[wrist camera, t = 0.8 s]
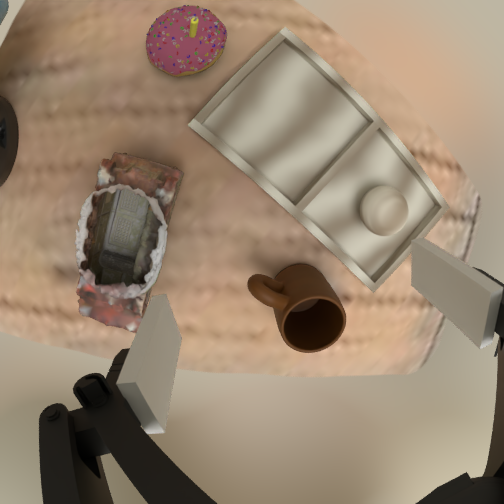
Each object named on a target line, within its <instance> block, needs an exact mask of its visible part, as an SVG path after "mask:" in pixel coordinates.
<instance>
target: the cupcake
mask: <svg viewBox="0 0 504 504" xmlns="http://www.w3.org/2000/svg"><path fill="white" fill-rule="evenodd" d="M226 39H227V32H226V28H225V26H224V24H223V23H222V22H221V21H220V20H219V19H218V18H217V17H216V16H215V15H214V14H212V13H211V12H210V10H207V9H203V8H200V7H199V6H189V5H187V6H186V5H184V6H183V7H178V8H173V9H171V10H167V11H166V12H165V13H164V14H163V15H161V16H160V17H159V18H158V19H157V18H156V21H155V22H154V23H153V24H152V25H151V28H150V29H149V32H148V34H147V40H146V49H147V55H148V58H149V61H150V62H151V64H152V65H154V66H155V67H157V68H158V69H160V70H162V71H164V72H166V73H168V74H170V75H172V76H175V77H178V76H184V75H190V74H194V73H198V72H201V71H203V70H205V69H207V68H209V67H210V66H212V65H213V64H214V63H215V62H216V60H217V59H218V58H219V57H220V56H221V54H222V52H223V49H224V46H225V41H226Z"/></svg>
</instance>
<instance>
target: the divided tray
mask: <svg viewBox="0 0 504 504" xmlns="http://www.w3.org/2000/svg"><path fill="white" fill-rule="evenodd" d="M188 126H189V127H191V128H192V129H193V130H194V131H195V132H197V133H198V134H199V135H200V136H202V137H203V138H204V139H205V140H206V141H208V142H209V143H210V144H211V145H212V146H214V147H215V148H216V149H217V150H218V151H219V152H221V153H222V154H223V155H224V156H225V157H227V158H228V159H229V160H230V161H231V162H232V163H234V164H235V165H236V166H237V167H238V168H239V169H241V170H242V171H243V172H244V173H245V174H246V175H247V176H249V177H250V178H251V179H252V180H253V181H254V182H255V183H257V184H258V185H259V186H260V187H261V188H262V189H263V190H265V191H266V192H267V193H268V194H269V195H270V196H271V197H272V198H274V199H275V200H276V201H277V202H278V203H279V204H280V205H281V206H282V207H284V208H285V209H286V210H287V211H288V212H289V213H290V214H291V215H292V216H293V217H295V218H296V219H297V220H298V221H299V222H300V223H301V224H302V225H303V226H304V227H305V228H306V229H308V230H309V231H310V232H311V233H312V234H313V235H314V236H315V237H316V238H317V239H318V240H319V241H320V242H322V243H323V244H324V245H325V246H326V247H327V248H328V249H329V250H330V251H331V252H332V253H333V254H334V255H335V256H336V257H337V258H338V259H339V260H340V261H341V262H343V263H344V264H345V265H346V266H347V267H348V268H349V269H350V270H351V271H352V272H353V273H354V274H355V275H356V276H357V277H358V278H359V279H360V280H361V281H362V282H363V283H364V284H365V285H366V286H367V287H368V288H369V289H370V290H371V291H372V292H373V293H374V292H375V291H376V290H377V289H378V288H379V287H380V286H381V285H382V284H383V283H384V282H385V281H386V280H387V278H388V277H389V276H390V275H391V274H392V273H393V272H394V271H395V270H396V269H397V268H398V267H399V266H400V265H401V263H402V262H403V261H404V260H405V259H406V258H407V257H408V256H409V255H410V253H411V252H412V245H411V240H414V239H418V238H422V237H423V238H424V237H425V236H426V235H427V234H428V233H429V232H430V230H431V229H432V228H433V227H434V226H435V224H436V223H437V222H438V221H439V220H440V218H441V217H442V216H443V215H444V214H445V212H446V211H447V210H448V209H449V205H448V204H447V202H446V201H445V199H444V198H443V197H442V195H441V194H440V192H439V191H438V189H437V188H436V186H435V185H434V184H433V182H432V181H431V180H430V178H429V177H428V175H427V174H426V173H425V171H424V170H423V169H422V167H421V166H420V165H419V163H418V162H417V161H416V160H415V158H414V157H413V156H412V154H411V153H410V152H409V151H408V149H407V148H406V147H405V146H404V144H403V143H402V142H401V141H400V140H399V138H398V137H397V136H396V135H395V134H394V132H393V131H392V130H391V129H390V128H389V127H388V125H387V124H386V123H385V122H384V121H383V120H382V119H381V117H380V116H379V115H378V114H377V113H376V112H375V111H374V110H373V109H372V107H371V106H370V105H369V104H368V103H367V102H366V101H365V100H364V99H363V98H362V97H361V96H360V95H359V94H358V93H357V92H356V91H355V90H354V89H353V88H352V87H351V86H350V85H349V84H348V83H347V82H346V81H345V80H344V79H343V78H342V77H341V76H340V75H339V74H338V73H337V72H336V71H335V70H334V69H333V68H332V67H331V66H330V65H329V64H328V63H327V62H326V61H324V60H323V59H322V58H321V57H320V56H319V55H318V54H317V53H316V52H314V51H313V50H312V49H311V48H310V47H309V46H308V45H306V44H305V43H304V42H303V41H302V40H301V39H299V38H298V37H297V36H296V35H294V34H293V33H292V32H291V31H290V30H288V29H287V28H286V27H285V28H283V29H282V30H281V31H280V32H279V33H278V34H277V35H276V36H274V37H273V38H272V39H271V40H270V41H269V42H268V43H267V44H266V45H265V46H264V47H262V48H261V49H260V50H259V51H258V52H257V53H256V54H255V55H254V56H253V57H252V58H251V59H250V60H249V61H248V62H247V63H246V64H245V65H244V66H243V67H242V68H241V69H240V70H239V71H238V72H237V73H236V74H235V75H234V76H233V77H232V78H231V79H230V80H229V81H228V82H227V83H226V84H225V85H224V86H223V87H222V88H221V89H220V90H219V91H218V92H217V93H216V94H215V95H214V97H213V98H212V99H211V100H210V101H209V102H208V103H207V104H206V105H205V106H204V107H203V109H202V110H201V111H200V112H199V113H198V114H197V115H196V116H195V117H194V119H193V120H192V121H191V122H190V123H189V124H188ZM377 186H390V187H393V188H395V189H397V190H398V191H399V192H400V193H401V194H402V195H403V196H404V198H405V199H406V201H407V204H408V210H409V213H408V219H407V222H406V224H405V225H404V227H403V228H402V229H401V230H400V231H399V232H397V233H396V234H394V235H391V236H379V235H376V234H374V233H372V232H370V231H369V230H368V229H367V228H366V227H365V225H364V224H363V222H362V220H361V216H360V204H361V201H362V199H363V197H364V195H365V194H366V193H367V192H368V191H369V190H371V189H372V188H374V187H377Z"/></svg>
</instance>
